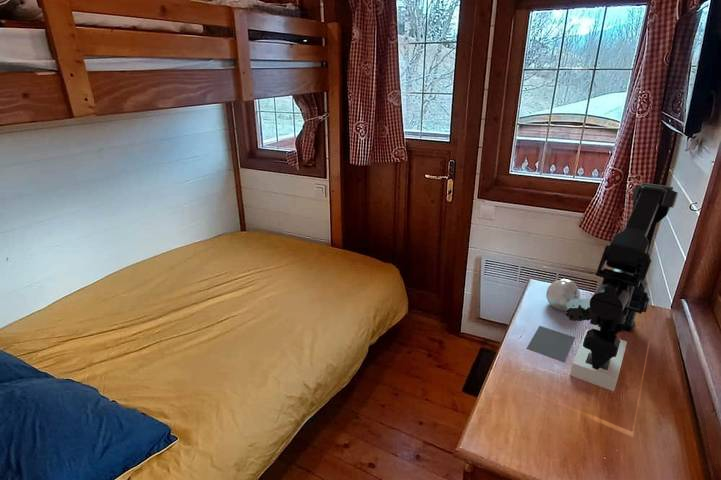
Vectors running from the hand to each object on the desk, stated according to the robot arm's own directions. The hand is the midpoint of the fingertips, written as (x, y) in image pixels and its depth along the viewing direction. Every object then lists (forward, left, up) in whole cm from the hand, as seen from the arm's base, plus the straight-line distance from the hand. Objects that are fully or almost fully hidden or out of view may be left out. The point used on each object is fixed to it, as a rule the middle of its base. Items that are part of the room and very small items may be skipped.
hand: (598, 357), depth 98 cm
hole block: (-4, 0, -5) cm, 6 cm away
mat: (-6, -11, -5) cm, 13 cm away
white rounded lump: (-25, -13, -5) cm, 29 cm away
